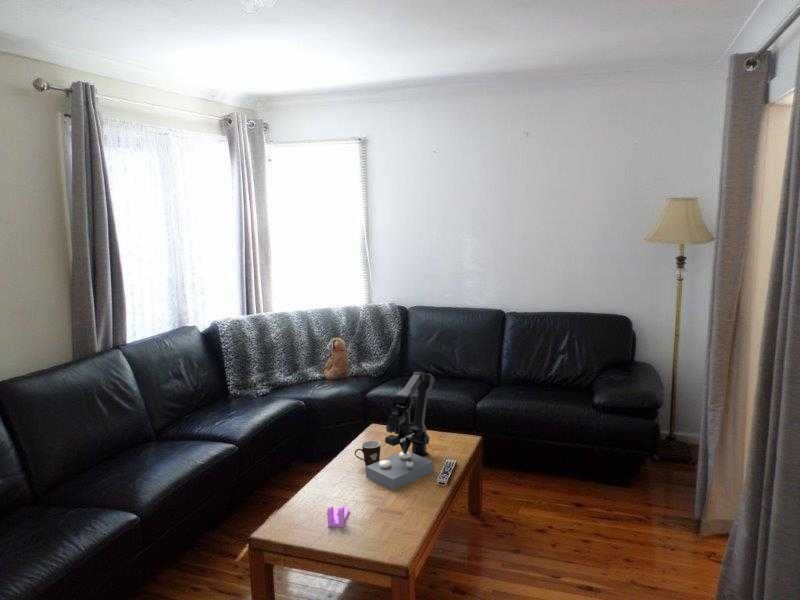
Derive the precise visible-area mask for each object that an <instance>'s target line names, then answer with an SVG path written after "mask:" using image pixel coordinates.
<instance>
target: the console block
mask: <svg viewBox="0 0 800 600" xmlns="http://www.w3.org/2000/svg"><path fill="white" fill-rule="evenodd" d="M401 452H403V451H402V450H401ZM407 452H410V453H411V457H410V460H411V461H413V469H412V470H407V469H406V461H409V458H408V459H406V460H403V459H401V458H399V453H400V452H398V453H394V454H392V455H390V456H388V457H385V458H383V459H379V461H378V462H376V463H373V464H371V465H368V466H365V478H367V479H369V480H371V481H373V482H375V483H378V484H379V485H381V486H384V487H385V488H388V489H389V490H391V491H393V492H394V491H396V490H398V489H400V488H402V487H404V486H407V485H409V484H411V483H414V482H415V481H417V480H420V479H421V478H425V476H428V475H430V474H432V473H434V461H433V460H431V459H428V458H426V457H425V456H423V457H421V456H419V455H416V454H414V453H412V451H407ZM382 460H389V461H391V466H390V467H388V468H385V469H384V468H381V467H379V462H380V461H382Z"/></svg>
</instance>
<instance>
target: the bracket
mask: <svg viewBox="0 0 800 600" xmlns="http://www.w3.org/2000/svg"><path fill="white" fill-rule="evenodd" d="M349 513H350V508H349V507H348V506H345V505H340V506H337V507H336V508H334V506H331V505H330V506H327V510H326V515H327V517H326V518H327V527H331V528H333V527H335V528H343V527H344V525H345V523H346V521H347V518H348V516H349Z"/></svg>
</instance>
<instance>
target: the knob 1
mask: <svg viewBox="0 0 800 600" xmlns="http://www.w3.org/2000/svg"><path fill="white" fill-rule="evenodd" d="M381 460H382V461H380V460H379V461H380V462H379V467H381V468H384V469H385V468H388V467H390V466H391V461H389V460H383V459H381Z"/></svg>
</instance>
